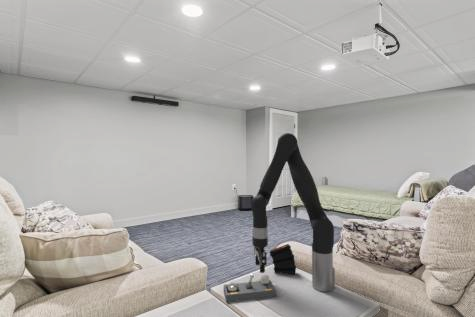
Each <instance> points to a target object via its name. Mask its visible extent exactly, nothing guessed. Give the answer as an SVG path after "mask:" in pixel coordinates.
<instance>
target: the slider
mask: <svg viewBox="0 0 475 317" xmlns="http://www.w3.org/2000/svg"><path fill="white" fill-rule="evenodd" d="M269 280H270V277H269V275H268V274H267V275H264V274H263V275H261V276H260V281H261V282H262V284H266V283H269Z"/></svg>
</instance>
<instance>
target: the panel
mask: <svg viewBox="0 0 475 317" xmlns="http://www.w3.org/2000/svg"><path fill="white" fill-rule="evenodd" d="M248 283H249V281H248V282H238V283H236V284H237V285H238V292H231V293H228V285H229V284H230V283H229V284H228V283H227V284H223V293H224V298H225V302H226V303H231V302H240V301H248V300H250V301H251V300H257V299H266V298H274V297H277V290H276V288H275V286H274V285H273V283H272V281H271V280H270V279H269V283H266V284H262V282H261V280H259V281H251V284H248Z"/></svg>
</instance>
